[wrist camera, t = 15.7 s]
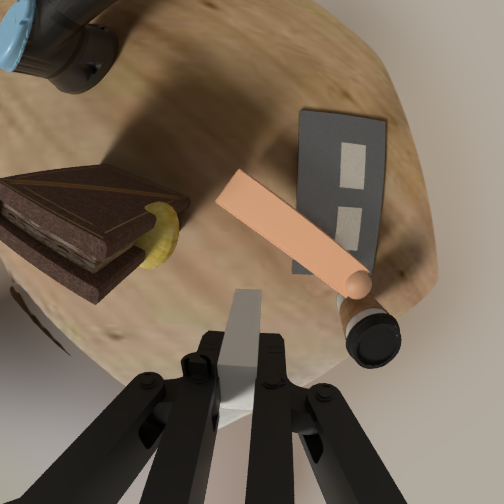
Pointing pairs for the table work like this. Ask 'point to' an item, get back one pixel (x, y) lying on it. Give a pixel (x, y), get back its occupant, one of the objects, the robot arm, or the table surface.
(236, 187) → the cable arm
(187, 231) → the table surface
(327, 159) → the plate
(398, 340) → the coffee cup
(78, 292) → the book
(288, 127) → the table surface
